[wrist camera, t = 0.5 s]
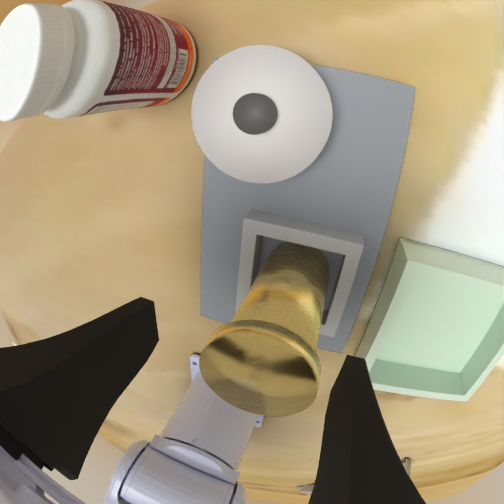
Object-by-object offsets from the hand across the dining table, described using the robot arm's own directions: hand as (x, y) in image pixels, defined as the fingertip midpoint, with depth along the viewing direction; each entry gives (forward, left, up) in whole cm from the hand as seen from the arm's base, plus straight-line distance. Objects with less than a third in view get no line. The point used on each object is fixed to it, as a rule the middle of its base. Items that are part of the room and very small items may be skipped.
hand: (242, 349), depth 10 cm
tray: (-4, -12, -10) cm, 16 cm away
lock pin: (-2, -1, -9) cm, 9 cm away
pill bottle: (+10, +10, -11) cm, 18 cm away
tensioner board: (+1, 0, -10) cm, 10 cm away
